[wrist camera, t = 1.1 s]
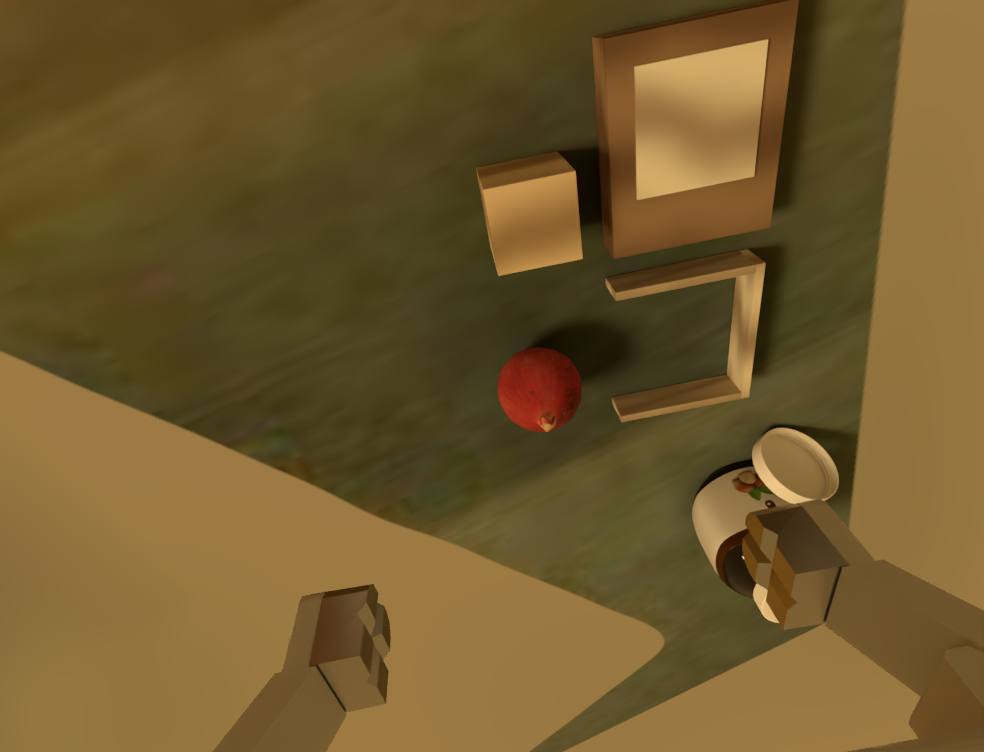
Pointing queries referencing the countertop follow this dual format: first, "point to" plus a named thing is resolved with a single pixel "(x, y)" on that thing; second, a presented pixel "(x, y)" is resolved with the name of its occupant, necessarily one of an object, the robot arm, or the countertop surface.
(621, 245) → the wooden tray
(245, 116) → the countertop surface
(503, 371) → the onion
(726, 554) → the spread jar
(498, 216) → the oak block
